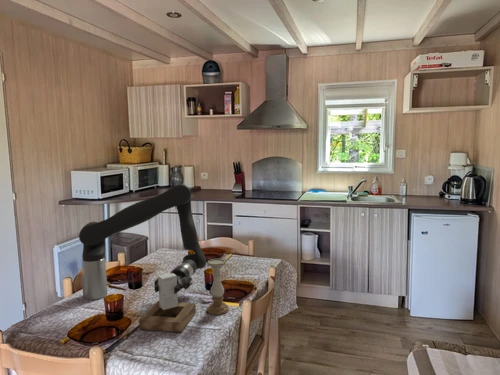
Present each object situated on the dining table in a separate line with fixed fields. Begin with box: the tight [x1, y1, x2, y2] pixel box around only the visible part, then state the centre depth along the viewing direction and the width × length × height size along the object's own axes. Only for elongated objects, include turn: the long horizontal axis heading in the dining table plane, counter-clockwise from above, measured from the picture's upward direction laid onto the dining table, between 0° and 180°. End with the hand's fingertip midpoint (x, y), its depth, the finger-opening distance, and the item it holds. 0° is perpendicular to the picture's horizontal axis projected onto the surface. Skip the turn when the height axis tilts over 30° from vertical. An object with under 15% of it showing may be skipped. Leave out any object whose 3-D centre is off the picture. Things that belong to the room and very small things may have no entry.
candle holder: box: [206, 258, 230, 316], centre depth 148 cm, size 9×9×20 cm
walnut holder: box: [138, 300, 197, 334], centre depth 140 cm, size 16×16×4 cm
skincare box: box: [157, 272, 179, 310], centre depth 139 cm, size 6×4×12 cm
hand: (165, 290), depth 137 cm, fingers closed on skincare box, 7 cm apart
